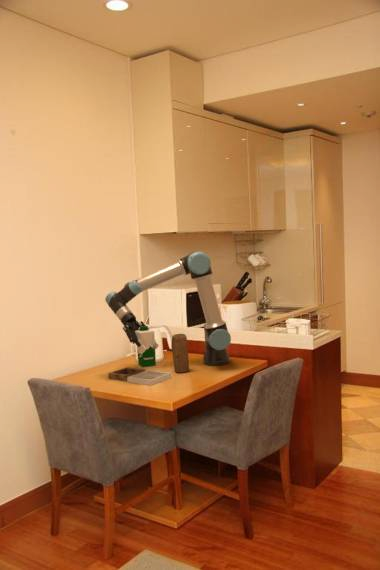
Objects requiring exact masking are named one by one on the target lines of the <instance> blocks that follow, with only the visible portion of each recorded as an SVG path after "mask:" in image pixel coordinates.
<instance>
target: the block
mask: <svg viewBox="0 0 380 570" xmlns="http://www.w3.org/2000/svg"><path fill="white" fill-rule="evenodd" d="M171 338H172V339H171V352H172V360H173V366H174V367H173V368H174V372H176V373H181V374H182V373H186V372H189V370H190V359H189V357H190V356H189V349H188V347H189V346H188V338H187V335H186V334H185V333H177V334H173V335H172V337H171Z"/></svg>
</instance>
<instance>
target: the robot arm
mask: <svg viewBox="0 0 380 570" xmlns="http://www.w3.org/2000/svg"><path fill="white" fill-rule="evenodd" d="M211 261H212V260H211V259H210V257H209V255H208V254H207V253H205V252H203V251H192V252H191V253H189V254H187V255H185V256H183V257H182V258H179V259H178V261H177V262H175V263H172V264H170V265H167V266H165V267H163V268H160V269H159V270H155V271H154V272H151V273H149V274H146V275H143V276H142V277H139V278H137V279H135V280H134V279H132V280H131V281H129V282H127V283H125V284H124V286H123V288H121V289H120V290H119V291H118V292H116V291H112V292H111V291H110V292H109V293H107V295H106V297H105V298H104V299H105V300H104V301H105V302H106V303H107V305H108V307H109V309H111V311H112V312H113V314H114V315H115V316H116V317H117V318H118V320H119V321H120V323H121V324H122V326H123V327H122V330H123V331H124V332H125V334H126V337H127V339H128V341H129V343H132V344H133V345H136V347H137V346H138V347H139V348H140V350H141V351H142V352H143V353H144V352H145V350H146V348H145V346H144V345H143V344H142V342H141V341H140V340H139V339H138V340H137V335H136V331H138V330H140V326H147V325H146V324H145V322H143V321H138V320H137V317H136V315H134V313H133V312H132V310H131V309H130V308H129V307H128V306H127V304H128V303H129V302H131V300H133V299H134V298H135V297H137V296H138V295H140V294H141V293H143V292H144V291H147V290H150V289H152V288H154V287H156V286H159V285H161V284H163V283H166V282H170V281H172V280H173V279H175V278H177V277H181V276H182V275H183V276H187V275H190V278H191V280H192V281H194V282H195V286H196V288H197V293H198V297H199V300H200V304H201V308H202V311H203V315H204V319H205V322H206V323H205V324H204V326H203V330H204V346H205V351H204V355H203V359H202V364H204V365H205V366H222V365H228V364H229V363H230V362H231V361H230V356H229V353H228V350H227V349H228V347H229V346H230V344H231V342H232V341H231V340H232V337H231V334H230V332H229V330H228V327H227V322H226V321H224V320H223V319H222V315H221V312H220V306H219V303H218V299H217V297H216V293H215V288H214V285H213V281H212V275H213V271H212V266H211V265H212V263H211ZM148 329H150V328H149V327H148ZM159 346H160V344H159V343H158V342H157V340H156V339H155V350H156V349H158V347H159Z"/></svg>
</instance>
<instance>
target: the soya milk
mask: <svg viewBox="0 0 380 570" xmlns="http://www.w3.org/2000/svg"><path fill="white" fill-rule="evenodd" d="M148 328H149V327H148V325H146V326H140V327H139V329H140V330H138V331H135V332H136V335H137V340H138V339H139V340H140V341H141V342H142V344H143V345H144V346H145V348H146V350H145V352H144V353H143V352H142V351H141V350H140V348H139V347H138V346H137V345H136V350H137V362H138V366H140V367H141V368H143V369H144V368H150V367H155V366H157V365H156V363H157V361H156V358H157V357H156V349H155V340H156V339H155V337H156V336H155V330H153V329H151V328H149V329H148Z"/></svg>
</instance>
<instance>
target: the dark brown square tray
mask: <svg viewBox="0 0 380 570" xmlns="http://www.w3.org/2000/svg"><path fill="white" fill-rule="evenodd" d="M144 371H147V369H144V368H143V369H142V368H137V367H136V368H133V367H128V366H127V367H123V368H121V369H117V370H115V371H111V372H108V379H109V380H114V381H122V382H128V381H127V377H129V376H132V375H135V374H138V373H141V372H144Z"/></svg>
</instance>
